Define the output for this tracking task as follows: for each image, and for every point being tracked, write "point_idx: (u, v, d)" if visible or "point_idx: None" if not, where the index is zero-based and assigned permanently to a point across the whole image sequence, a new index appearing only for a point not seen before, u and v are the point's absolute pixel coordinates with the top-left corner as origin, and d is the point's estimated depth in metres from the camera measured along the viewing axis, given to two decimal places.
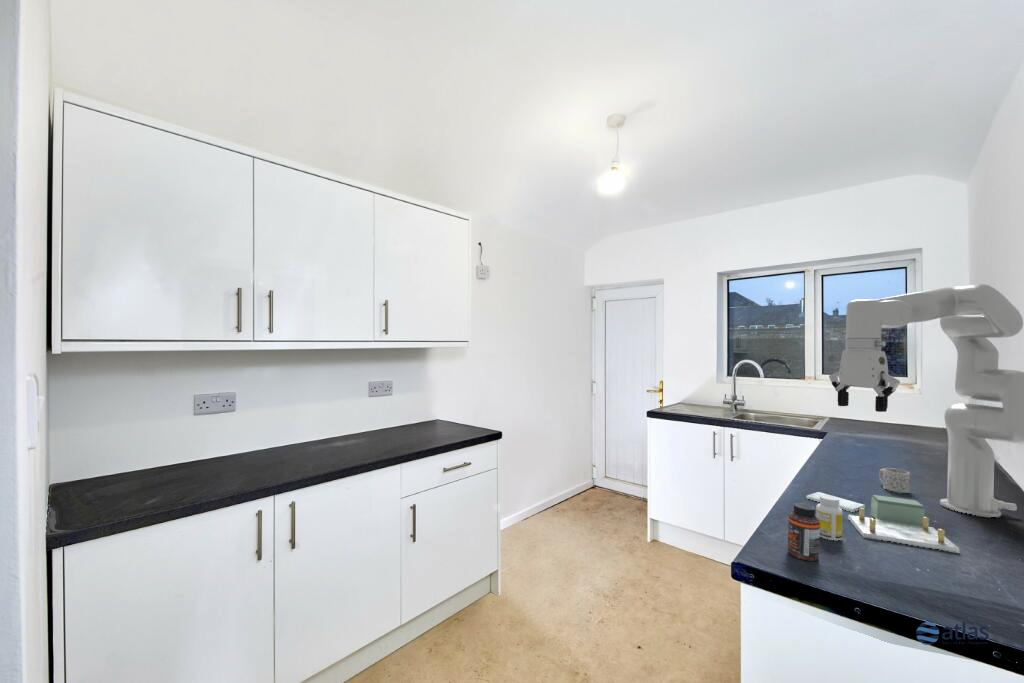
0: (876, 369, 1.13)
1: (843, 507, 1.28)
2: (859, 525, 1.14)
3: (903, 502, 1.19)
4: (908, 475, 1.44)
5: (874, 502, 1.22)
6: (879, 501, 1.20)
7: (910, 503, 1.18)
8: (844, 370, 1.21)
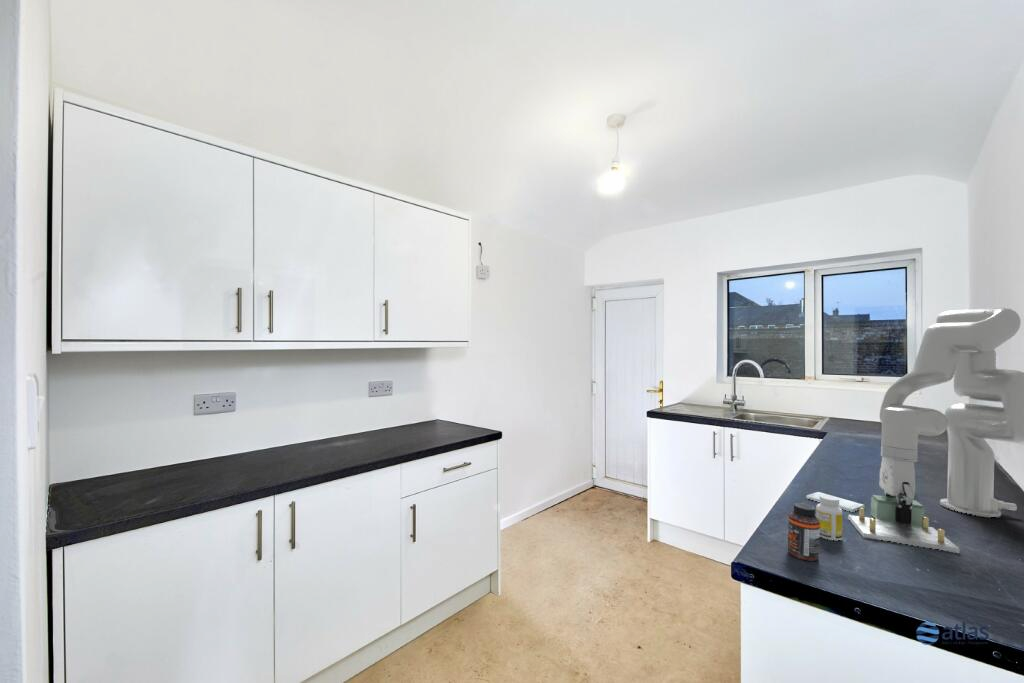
0: None
1: (843, 507, 1.28)
2: (859, 525, 1.14)
3: None
4: None
5: (874, 502, 1.22)
6: (879, 501, 1.20)
7: None
8: None
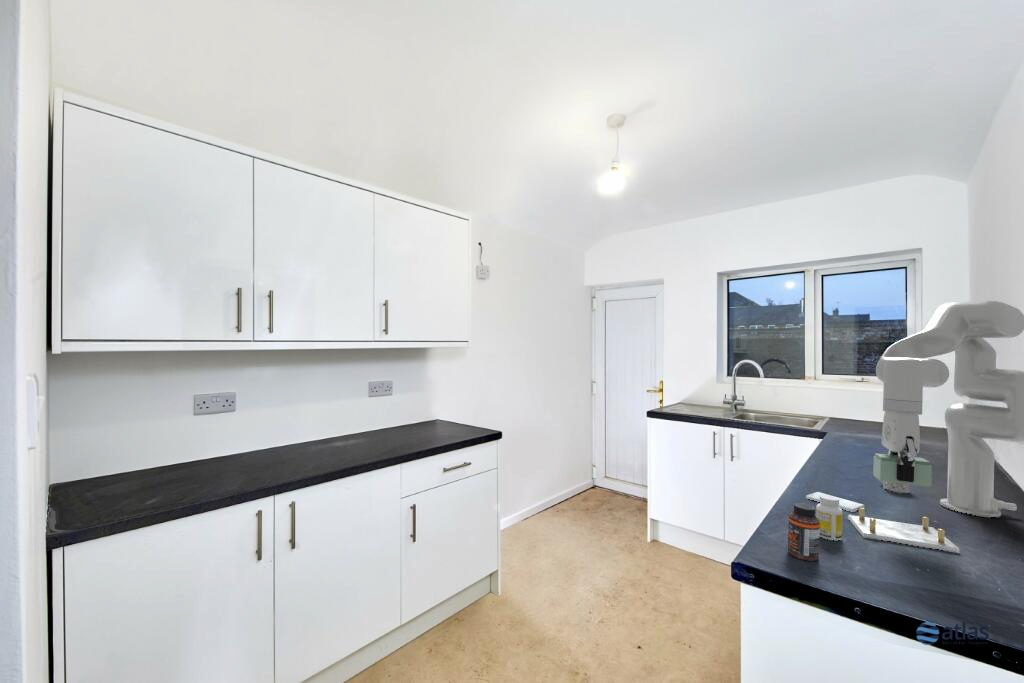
0: None
1: (843, 507, 1.28)
2: (859, 525, 1.14)
3: None
4: None
5: (877, 460, 1.13)
6: (882, 459, 1.11)
7: (916, 460, 1.09)
8: None
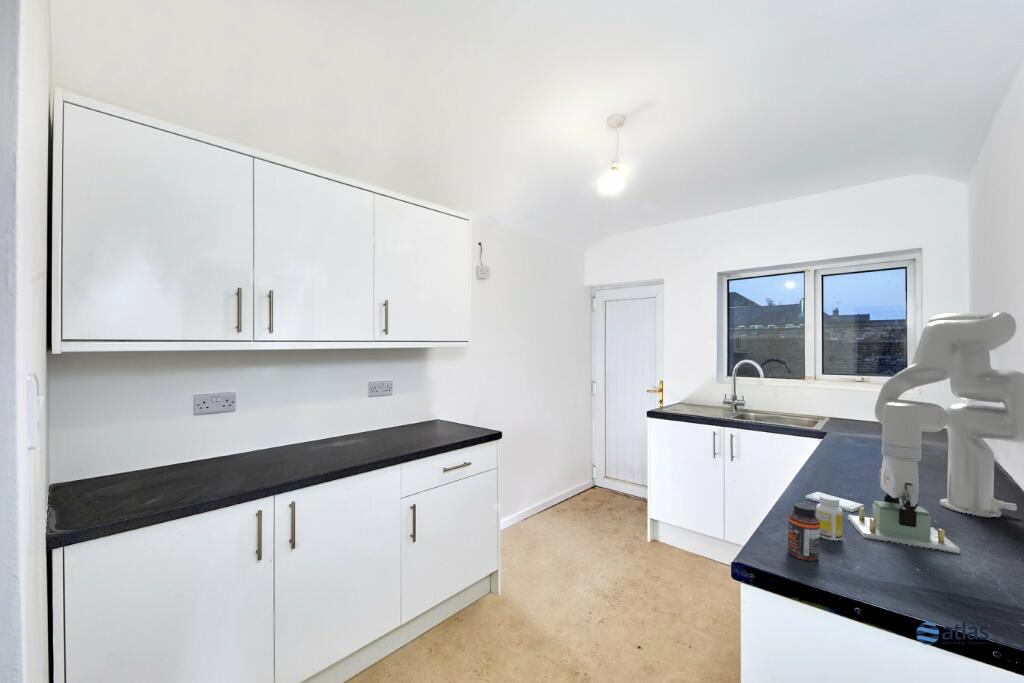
0: None
1: (842, 507, 1.28)
2: (859, 525, 1.14)
3: None
4: None
5: (876, 509, 1.13)
6: (881, 508, 1.11)
7: None
8: None
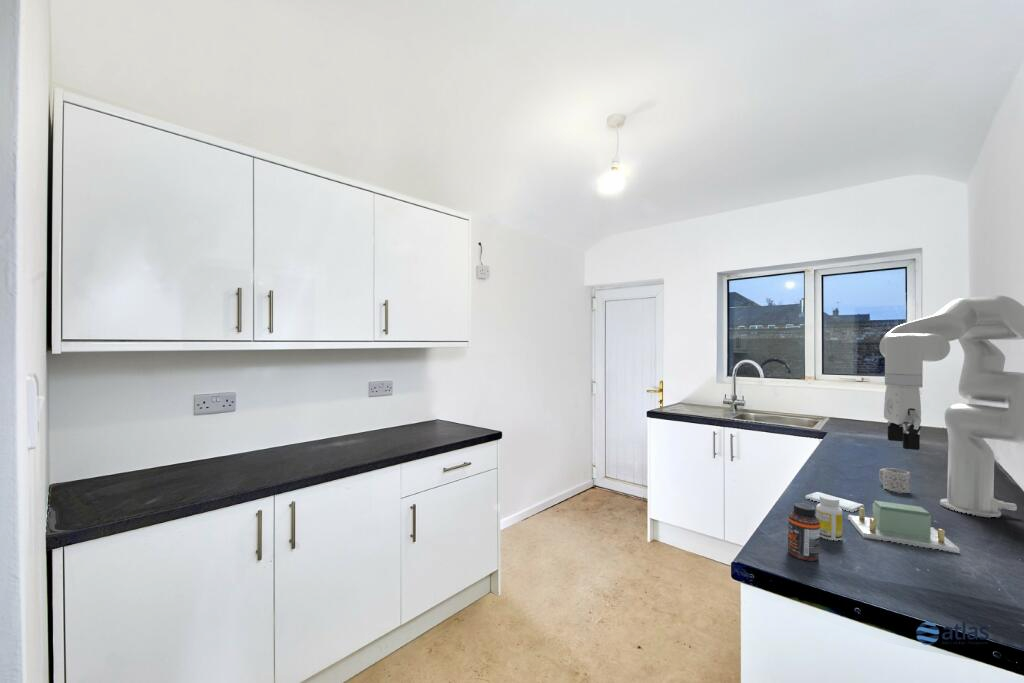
0: None
1: (842, 507, 1.28)
2: (859, 525, 1.14)
3: (907, 508, 1.10)
4: (908, 475, 1.44)
5: (876, 509, 1.13)
6: (881, 508, 1.11)
7: (915, 510, 1.09)
8: None
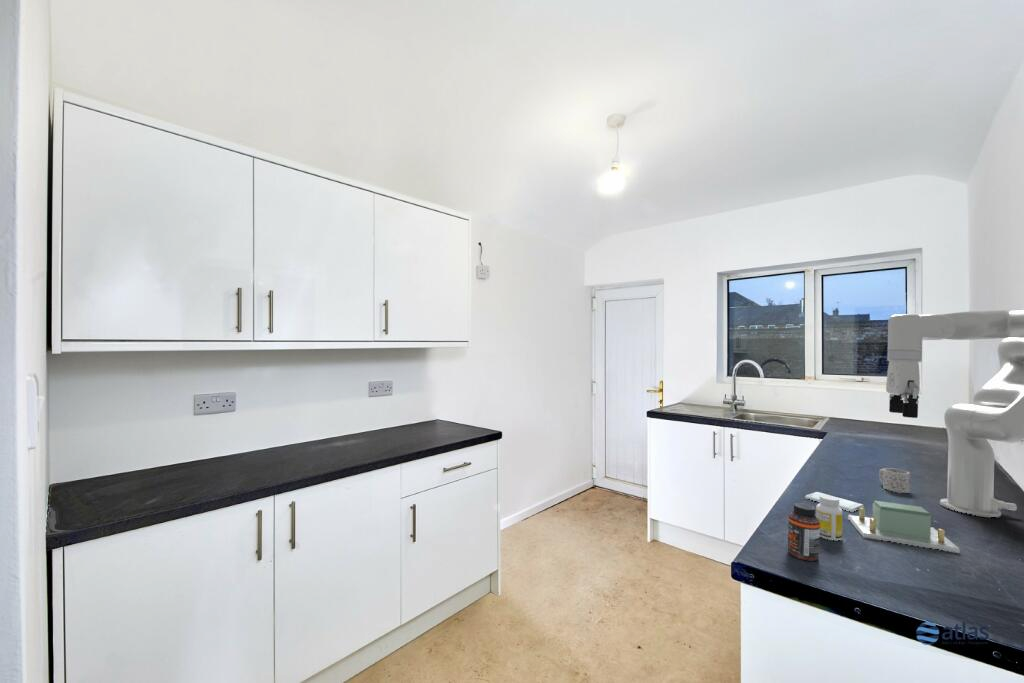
0: None
1: (842, 507, 1.28)
2: (859, 525, 1.14)
3: (907, 508, 1.10)
4: (908, 475, 1.44)
5: (876, 509, 1.13)
6: (881, 508, 1.11)
7: (915, 510, 1.09)
8: None
